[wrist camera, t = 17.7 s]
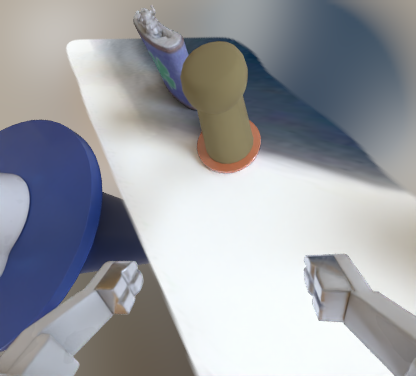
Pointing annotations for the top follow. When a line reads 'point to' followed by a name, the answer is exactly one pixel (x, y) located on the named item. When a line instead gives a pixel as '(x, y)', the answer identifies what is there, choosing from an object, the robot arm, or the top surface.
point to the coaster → (233, 166)
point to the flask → (164, 51)
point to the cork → (219, 99)
